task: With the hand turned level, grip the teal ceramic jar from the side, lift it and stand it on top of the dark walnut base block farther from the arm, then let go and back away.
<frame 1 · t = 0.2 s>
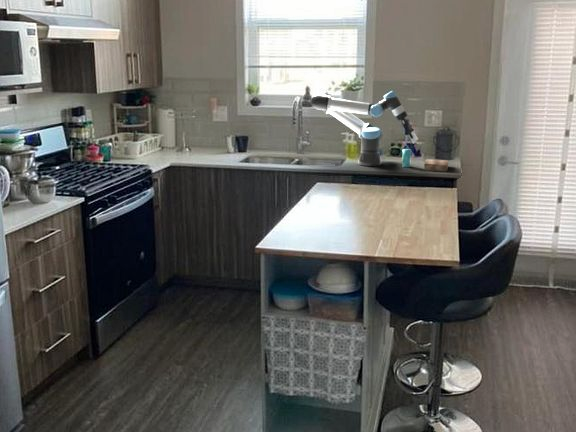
hand: (415, 141, 420), 14 cm above the kitchen counter, tool tilted 35°, fingers open, 13 cm apart
walnut base: (436, 168, 406), on the kitchen counter
teal jar: (406, 166, 411), on the kitchen counter
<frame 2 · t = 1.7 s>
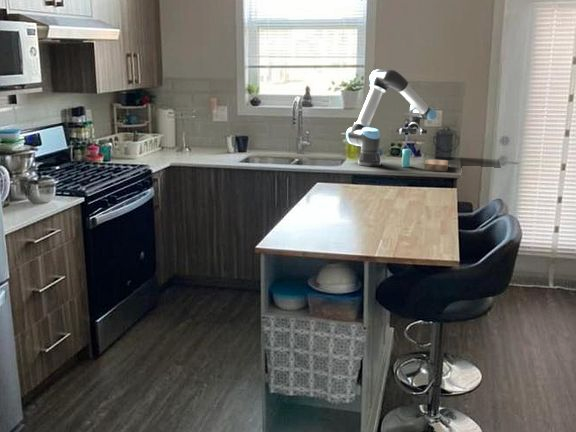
hand: (410, 132, 421), 20 cm above the kitchen counter, tool horizontal, fingers open, 13 cm apart
nothing on the kitchen counter moved.
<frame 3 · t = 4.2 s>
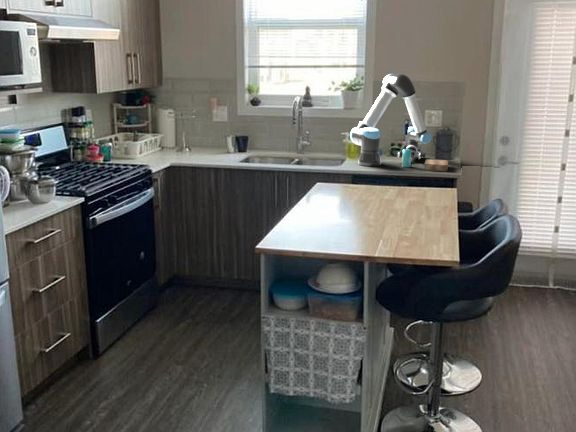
hand: (408, 156, 414), 6 cm above the kitchen counter, tool horizontal, fingers open, 13 cm apart
nothing on the kitchen counter moved.
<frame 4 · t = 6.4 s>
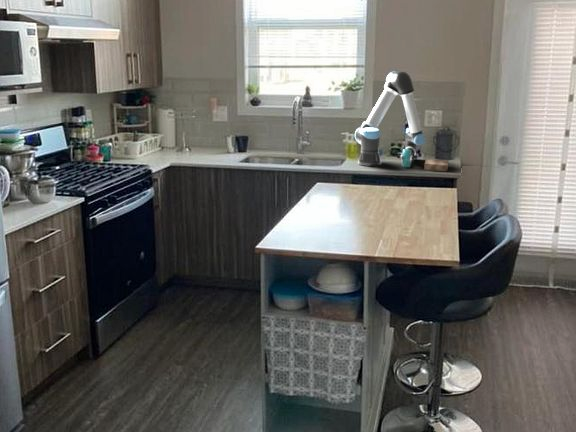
hand: (405, 158, 404), 6 cm above the kitchen counter, tool horizontal, fingers closed on teal jar, 5 cm apart
teal jar: (406, 166, 411), on the kitchen counter, touching gripper
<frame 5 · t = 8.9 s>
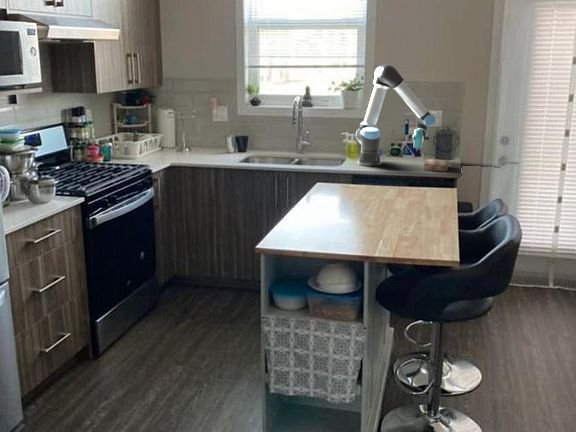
hand: (417, 139, 400), 19 cm above the kitchen counter, tool horizontal, fingers closed on teal jar, 5 cm apart
teal jar: (417, 147, 407), point 13 cm above the kitchen counter, touching gripper
when the fingers open (11 cm above the kitchen counter, at t = 11.7 s): teal jar drops 1 cm, resting on walnut base.
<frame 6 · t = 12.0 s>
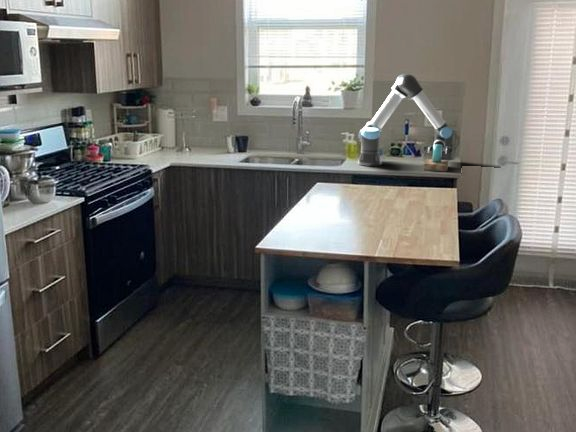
hand: (437, 151, 399), 11 cm above the kitchen counter, tool horizontal, fingers open, 10 cm apart
teal jar: (436, 162, 405), point 4 cm above the kitchen counter, touching walnut base
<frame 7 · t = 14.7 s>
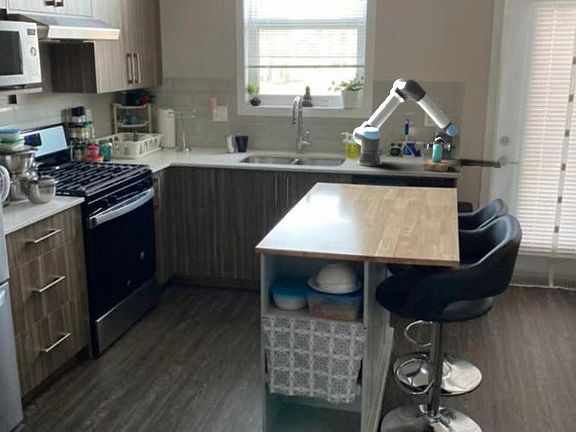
hand: (438, 148, 412), 12 cm above the kitchen counter, tool horizontal, fingers open, 13 cm apart
nothing on the kitchen counter moved.
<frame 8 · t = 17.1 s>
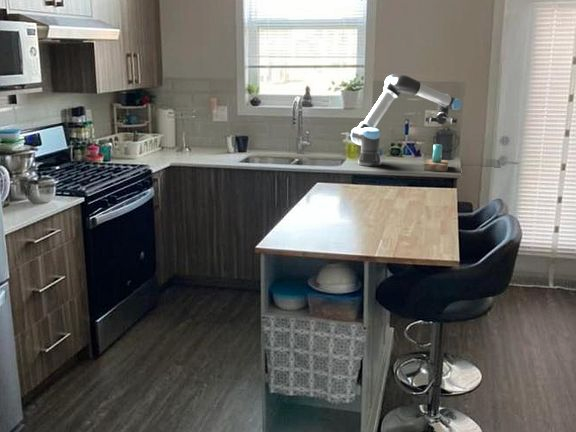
hand: (440, 121, 414), 28 cm above the kitchen counter, tool horizontal, fingers open, 13 cm apart
nothing on the kitchen counter moved.
at the end: teal jar inside the target area on the walnut base (0.1 cm from its centre), point 4.0 cm above the walnut base's base; teal jar tilted 0°; teal jar touching walnut base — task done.
